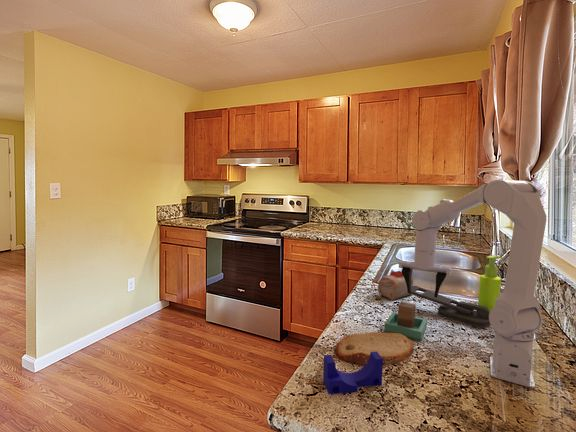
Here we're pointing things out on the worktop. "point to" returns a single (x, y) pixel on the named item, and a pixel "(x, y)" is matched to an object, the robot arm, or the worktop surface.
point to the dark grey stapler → (456, 309)
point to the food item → (393, 285)
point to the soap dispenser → (489, 284)
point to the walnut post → (406, 314)
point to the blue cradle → (352, 375)
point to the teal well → (415, 333)
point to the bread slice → (374, 347)
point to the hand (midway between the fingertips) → (422, 294)
